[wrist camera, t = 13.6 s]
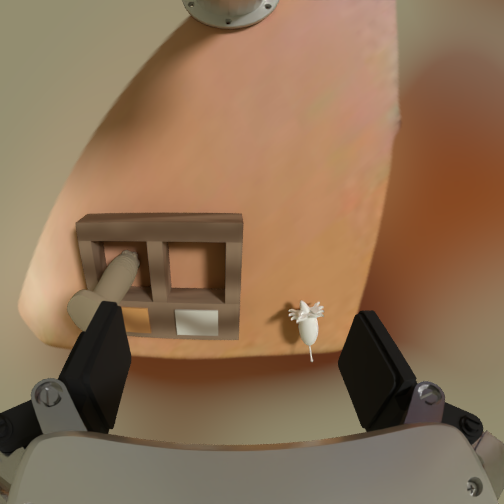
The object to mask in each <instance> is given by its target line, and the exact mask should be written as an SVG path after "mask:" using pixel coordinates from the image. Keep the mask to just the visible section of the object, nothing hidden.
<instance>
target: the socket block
mask: <svg viewBox="0 0 504 504" xmlns="http://www.w3.org/2000/svg"><path fill="white" fill-rule="evenodd" d="M76 230H77V237H78V243H79V249H80V255H81V260H82V265H83V270H84V275H85V280H86V284H87V289H88V290H89V291H92V292H93V291H94V289H95V287H96V286H97V284H98V282H99V280H100V279H101V277H102V275H103V273H104V271H105V270H106V268H107V265H106V259H105V253H104V246H103V241H147V252H148V262H149V271H150V280H151V287H134V286H131V287H130V288H129V290H128V291H127V293H126V294H125V296H124V297H123V299H122V301H121V302H120V304H119V306H121V308H122V313H123V318H124V324H125V329H126V334H127V336H137V337H152V338H171V339H199V340H239V317H240V291H241V267H242V243H243V218H242V214H233V213H104V214H87V215H85V216H84V217H83V218H81V219H80V220H79V221H77V222H76ZM168 242H226V262H225V289H201V288H172V287H171V275H170V262H169V247H168Z"/></svg>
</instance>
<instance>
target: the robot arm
mask: <svg viewBox="0 0 504 504" xmlns="http://www.w3.org/2000/svg"><path fill="white" fill-rule="evenodd" d="M182 1H183V4H184V6H185V8H186V9H187V11H188V12H189V14H190V15H191V16H193V17H194V18H195V19H196V20H198V21H200V22H201V23H203V24H206V25H208V26H211V27H216V28H221V29H237V28H243V27H248V26H251V25H254V24H256V23H258V22H260V21H262V20H264V19H265V18H266V17H268V16H269V15H270V14H271V13H272V12H273V10H274V9H275V8H276V6H277V4H278V2H279V0H182ZM190 6H193V7H190ZM266 8H269V9H266ZM227 22H229V23H230V24H226V23H227ZM130 364H131V352H130V348H129V343H128V339H127V334H126V329H125V324H124V318H123V313H122V308H121V306H118V305H117V303H116V302H111V301H102V302H101V303H100V305H99V307H98V309H97V310H96V312H95V314H94V316H93V318H92V320H91V322H90V324H89V325H88V327H87V329H86V331H82V332H81V333H80V335H79V337H78V339H77V341H76V343H75V345H74V347H73V349H72V351H71V353H70V355H69V357H68V359H67V361H66V363H65V365H64V367H63V369H62V371H61V373H60V375H59V378H58V380H57V379H54V378H48V379H43V380H42V381H40V382H38V383H37V384H36V385H35V386H34V388H33V389H32V392H31V400H29V401H27V402H25V403H23V404H20V405H18V406H16V407H13V408H11V409H9V410H7V411H4V412H2V413H0V504H499V503H498V499H499V497H500V495H501V493H502V491H503V489H504V444H503V442H501V441H500V440H499V439H497V438H496V437H495V436H493V435H492V434H491V433H490V432H488V431H485V432H483V425H482V422H481V421H480V419H479V418H478V417H477V416H475V415H473V414H471V413H469V412H467V411H464V410H462V409H460V408H457V407H455V406H453V405H450V404H448V403H446V402H445V395H444V392H443V391H442V389H441V388H440V387H439V386H438V385H436V384H434V383H432V382H428V381H423V382H420V383H417V382H416V377H415V375H414V373H413V372H412V370H411V368H410V366H409V365H408V363H407V362H406V360H405V358H404V357H403V355H402V353H401V352H400V350H399V349H398V347H397V345H396V344H395V342H394V341H393V339H392V338H391V336H390V334H389V333H388V331H387V330H386V328H385V327H384V325H383V324H382V322H381V321H380V319H379V317H378V316H377V315H376V313H375V312H374V311H360V312H359V313H358V314H357V315H355V317H354V320H353V323H352V325H351V328H350V331H349V334H348V336H347V339H346V342H345V344H344V347H343V350H342V352H341V355H340V357H339V360H338V367H339V370H340V372H341V375H342V377H343V380H344V382H345V385H346V387H347V390H348V392H349V395H350V398H351V400H352V403H353V405H354V408H355V411H356V413H357V416H358V419H359V421H360V424H361V426H362V428H365V429H366V431H367V432H365V433H359V434H354V435H348V436H342V437H336V438H328V439H321V440H312V441H303V442H293V443H281V444H280V443H279V444H263V445H262V444H260V445H207V444H187V443H175V442H164V441H154V440H146V439H138V438H131V437H124V436H118V435H111V434H108V432H109V429H113V427H114V424H115V420H116V415H117V412H118V408H119V404H120V400H121V396H122V393H123V389H124V385H125V381H126V378H127V375H128V371H129V368H130Z"/></svg>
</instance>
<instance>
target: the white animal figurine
mask: <svg viewBox="0 0 504 504" xmlns="http://www.w3.org/2000/svg"><path fill="white" fill-rule="evenodd" d="M319 304H320V302H317V303H315V305H314V306H313V307H308V305H307V304H306V303H305V302H303V301H300V310H294V309H290V310H289V312H293V313H290V314H289V316H293V317H292V318H291V320H294V319H297V320H296V322H299V326H298V328H299V333H300V336H301V339H302V341H303V342H304V343H305V344H306V345H309V349H310V355H311V348H310V345H312V344H313V343H314V342H315V341H316V338H317V335H318V322H317V317H321V316H322V317H324V315H323V314H322V313H321V312H324V310H322V309H321V308H323V306H318V305H319ZM317 306H318V307H317ZM311 362H313V360H312V355H311Z"/></svg>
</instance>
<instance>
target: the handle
mask: <svg viewBox="0 0 504 504" xmlns="http://www.w3.org/2000/svg"><path fill="white" fill-rule="evenodd" d="M137 255H138V254H137V253H136V252H131V251H128V250H124V251H123V252H122V254H120V255H119V256H117V257H116V258H115V259H114V260H113V261H112V262H111V263H110V264H109V266H108V267H107V268H106V270H105V271H104V273H103V275H102V277H101V279H100V280H99V282H98V284H97V286H96V287H95V289H94V291H93V292H92V291H89V290H85V289H84V290H80V291H78V292H77V293H76V294H75V295H74V296H73V297H72V298H71V300H70V301H69V303H68V306H67V311H68V313H69V315H70V317H71V318H72V320H73V322H74V323H75V324H76V325H77V326H78V327H79V328H80V329H81V330H82V331H86V329H87V327H88V325H89V324H90V322H91V320H92V318H93V316H94V314H95V312H96V310H97V309H98V307H99V305H100V303H101V302H102V301H111V302H116V303H117V305H118V306H119V304H120V302H121V301H122V299H123V297H124V296H125V294H126V293H127V291H128V290H129V288H130V287H131V285H132V283H133V281H134V279H135V277H136V274H137V270H138V268H139V265H140V261H139V260H138V257H137Z"/></svg>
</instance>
